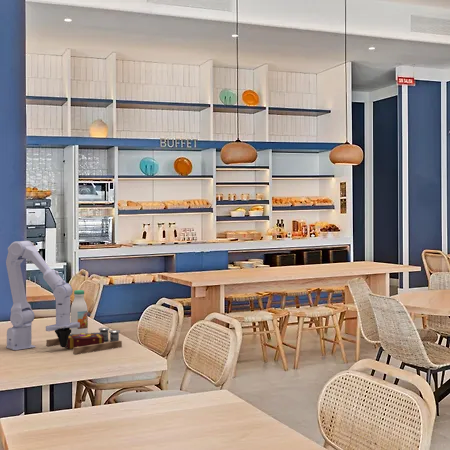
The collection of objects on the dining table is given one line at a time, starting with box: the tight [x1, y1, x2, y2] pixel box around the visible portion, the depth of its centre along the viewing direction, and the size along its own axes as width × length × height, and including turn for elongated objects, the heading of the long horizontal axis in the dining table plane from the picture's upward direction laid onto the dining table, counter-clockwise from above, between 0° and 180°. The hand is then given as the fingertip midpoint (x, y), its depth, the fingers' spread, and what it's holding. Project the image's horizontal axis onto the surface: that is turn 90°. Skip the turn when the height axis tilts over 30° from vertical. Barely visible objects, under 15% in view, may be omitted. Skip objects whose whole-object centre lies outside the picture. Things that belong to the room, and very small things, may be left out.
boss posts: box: [98, 326, 121, 343], centre depth 290 cm, size 5×13×6 cm, turn 43°
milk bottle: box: [70, 289, 89, 334], centre depth 311 cm, size 8×8×20 cm
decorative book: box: [65, 332, 105, 350], centre depth 283 cm, size 11×16×5 cm
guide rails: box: [46, 337, 123, 355], centre depth 282 cm, size 22×23×2 cm
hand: (63, 346), depth 275 cm, fingers closed
